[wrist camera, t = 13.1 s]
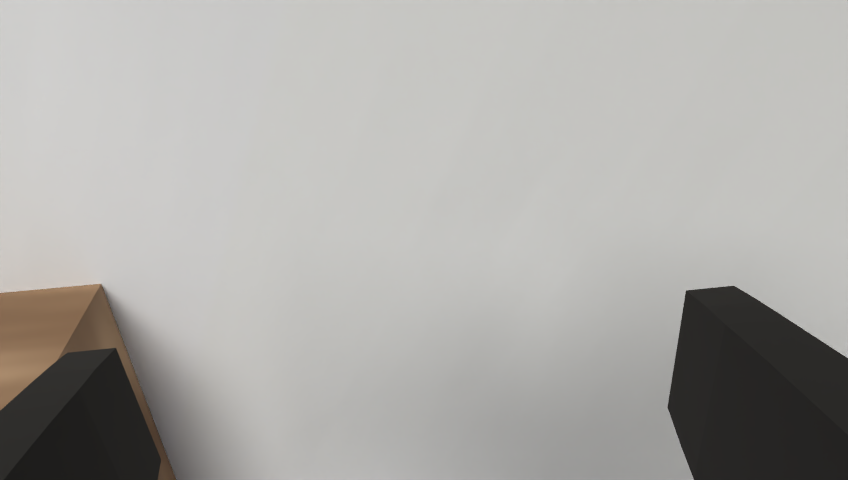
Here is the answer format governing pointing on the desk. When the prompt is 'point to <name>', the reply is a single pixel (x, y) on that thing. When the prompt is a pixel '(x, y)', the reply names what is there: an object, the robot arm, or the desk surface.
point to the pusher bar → (61, 341)
